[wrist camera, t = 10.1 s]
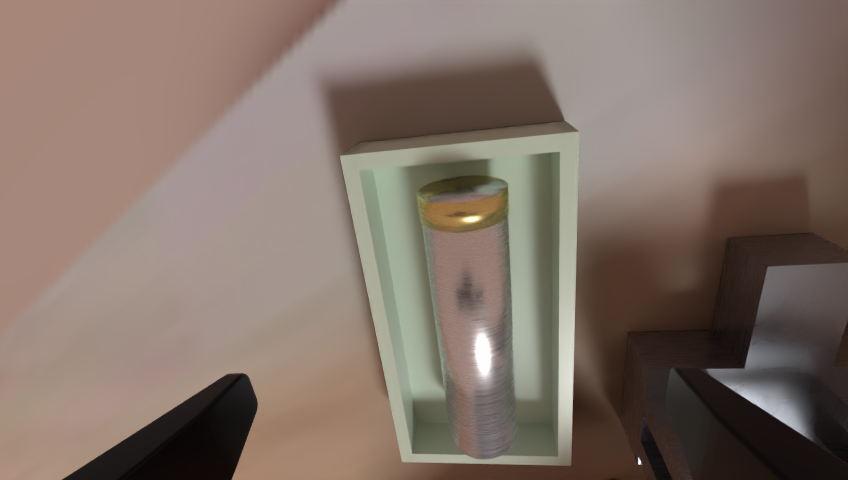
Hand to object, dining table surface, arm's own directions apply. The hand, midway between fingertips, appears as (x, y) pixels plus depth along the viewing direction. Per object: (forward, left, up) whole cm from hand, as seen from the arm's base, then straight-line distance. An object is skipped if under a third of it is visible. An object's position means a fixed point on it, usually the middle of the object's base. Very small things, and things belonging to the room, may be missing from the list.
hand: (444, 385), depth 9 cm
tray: (-4, 0, -10) cm, 11 cm away
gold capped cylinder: (-4, 0, -8) cm, 9 cm away
